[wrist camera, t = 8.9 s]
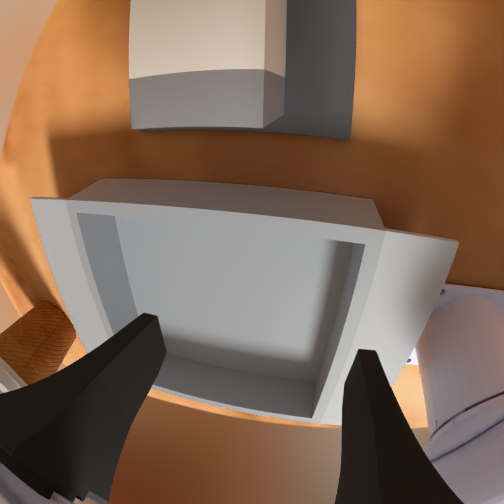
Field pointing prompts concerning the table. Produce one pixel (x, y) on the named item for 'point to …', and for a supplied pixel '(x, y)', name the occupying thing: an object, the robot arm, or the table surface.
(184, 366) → the grey rimmed tray
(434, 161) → the table surface
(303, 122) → the mat
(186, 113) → the capped box
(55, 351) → the disposable coffee cup
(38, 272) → the table surface
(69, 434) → the robot arm
